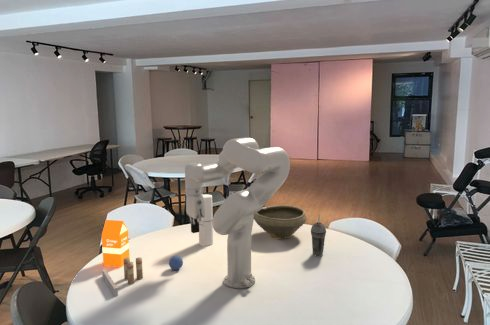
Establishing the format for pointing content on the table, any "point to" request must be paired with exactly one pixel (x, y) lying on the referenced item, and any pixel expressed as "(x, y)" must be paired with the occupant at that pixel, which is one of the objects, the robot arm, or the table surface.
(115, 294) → the rail
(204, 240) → the cylindrical container
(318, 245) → the beverage cup
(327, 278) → the table surface
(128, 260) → the pin
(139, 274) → the pin front
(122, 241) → the orange juice
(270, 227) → the bowl
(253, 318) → the table surface
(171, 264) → the ball
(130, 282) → the pin
